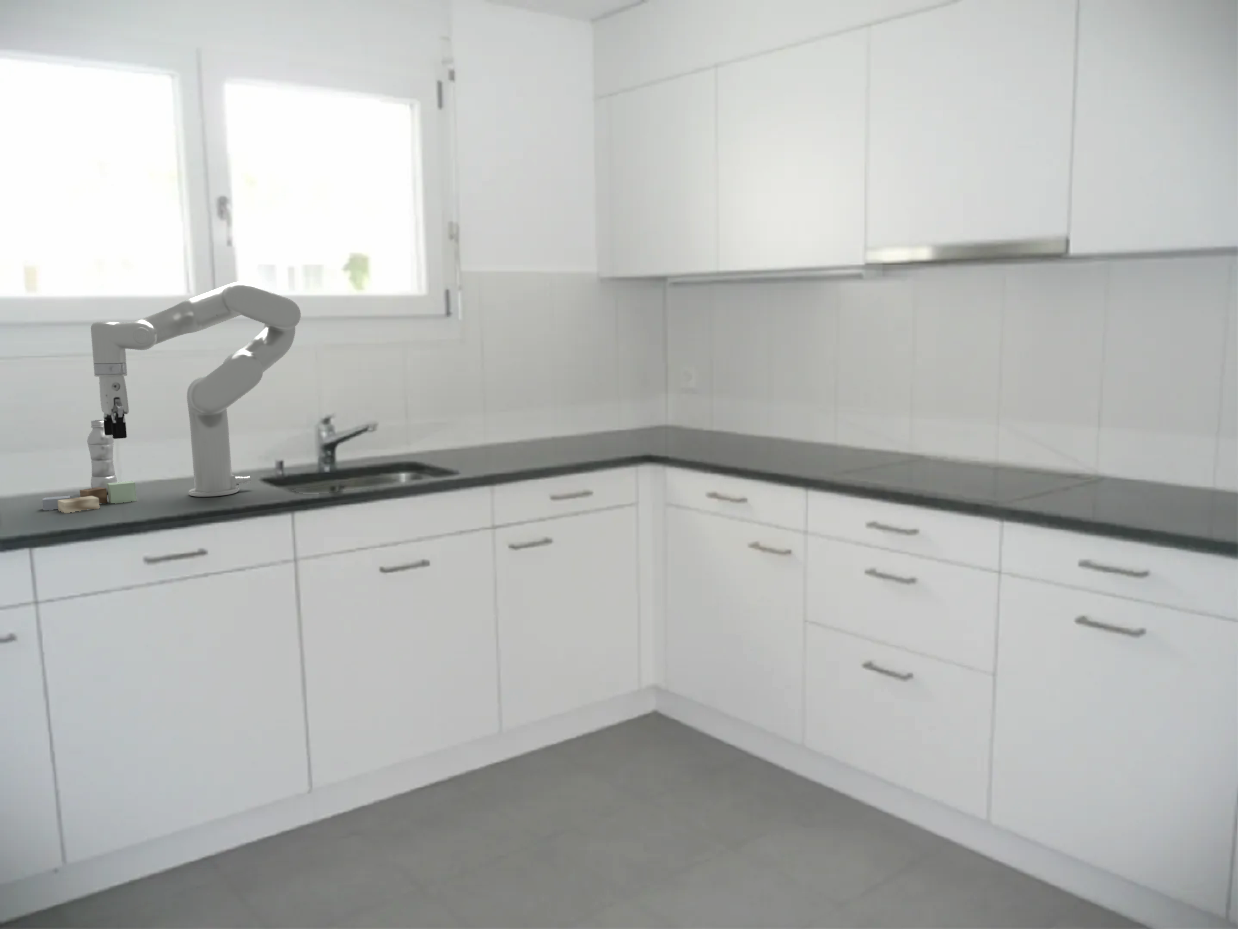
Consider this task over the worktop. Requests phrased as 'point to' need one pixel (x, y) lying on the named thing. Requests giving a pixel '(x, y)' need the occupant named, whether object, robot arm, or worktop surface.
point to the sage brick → (121, 492)
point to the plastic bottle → (101, 456)
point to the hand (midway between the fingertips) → (115, 436)
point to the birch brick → (78, 504)
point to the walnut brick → (95, 493)
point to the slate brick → (52, 502)
